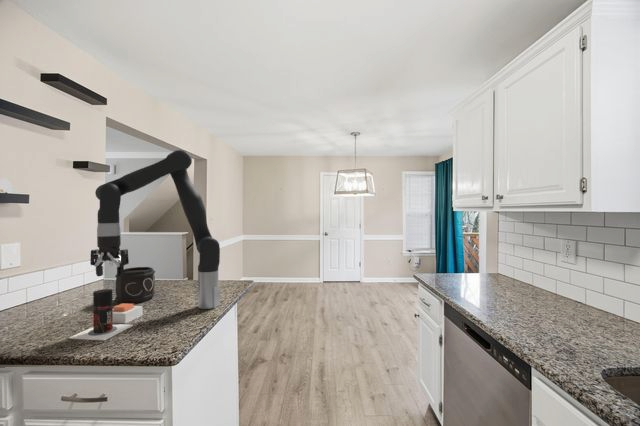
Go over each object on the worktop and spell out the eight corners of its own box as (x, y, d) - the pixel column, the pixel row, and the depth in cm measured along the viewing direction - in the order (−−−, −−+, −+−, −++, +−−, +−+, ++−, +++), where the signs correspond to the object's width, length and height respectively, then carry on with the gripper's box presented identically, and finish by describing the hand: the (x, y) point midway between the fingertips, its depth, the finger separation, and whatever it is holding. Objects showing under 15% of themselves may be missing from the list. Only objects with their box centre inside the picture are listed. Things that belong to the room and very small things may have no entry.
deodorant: (99, 327, 118) (99, 289, 118) (115, 327, 119) (115, 288, 119) (89, 333, 112) (89, 293, 112) (106, 333, 113) (106, 292, 113)
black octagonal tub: (163, 297, 161) (163, 268, 161) (127, 306, 146) (126, 274, 146) (145, 293, 171) (145, 265, 171) (109, 301, 156) (109, 270, 156)
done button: (133, 310, 132) (133, 303, 132) (124, 314, 127) (124, 307, 127) (122, 310, 133) (122, 303, 133) (113, 314, 128) (113, 307, 127)
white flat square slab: (133, 325, 122) (133, 324, 122) (104, 340, 108) (104, 339, 108) (101, 324, 123) (101, 323, 123) (69, 338, 109) (69, 337, 109)
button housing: (142, 315, 134) (142, 306, 134) (125, 323, 124) (125, 313, 124) (121, 314, 135) (121, 305, 135) (103, 322, 125) (103, 312, 125)
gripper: (132, 233, 122) (133, 274, 122) (100, 234, 123) (101, 273, 124) (118, 235, 115) (119, 278, 115) (84, 235, 116) (84, 278, 116)
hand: (109, 276), depth 119 cm, fingers open, 8 cm apart
